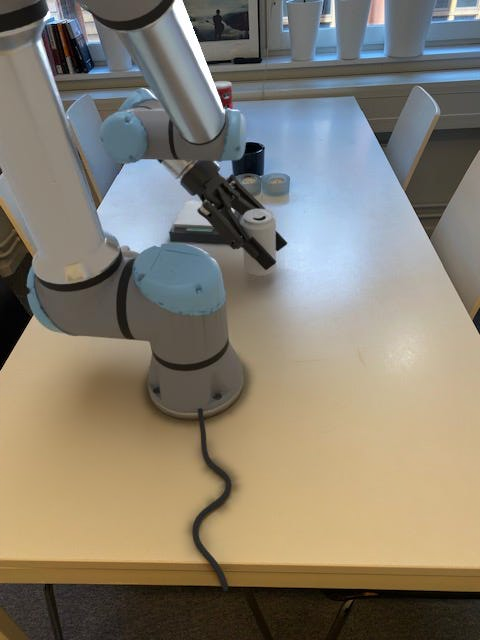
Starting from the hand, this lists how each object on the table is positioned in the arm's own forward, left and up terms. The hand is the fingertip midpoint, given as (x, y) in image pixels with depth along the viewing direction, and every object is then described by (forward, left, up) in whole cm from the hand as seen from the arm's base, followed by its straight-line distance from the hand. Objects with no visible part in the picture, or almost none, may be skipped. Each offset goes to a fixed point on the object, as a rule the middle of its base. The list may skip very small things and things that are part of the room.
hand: (276, 256), depth 95 cm
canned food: (+102, +32, -6) cm, 107 cm away
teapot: (-7, +29, -6) cm, 31 cm away
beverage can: (+1, +3, -4) cm, 5 cm away
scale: (+21, +19, -6) cm, 29 cm away
